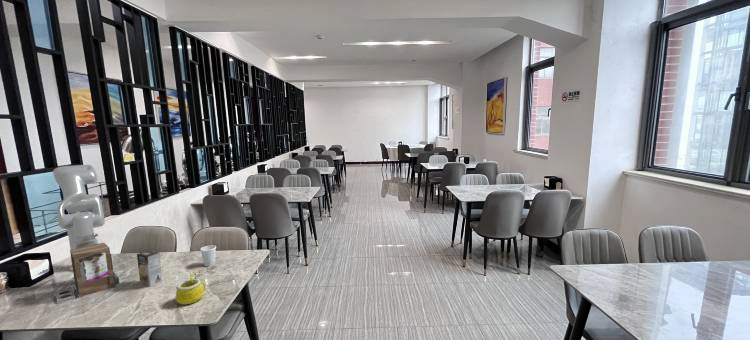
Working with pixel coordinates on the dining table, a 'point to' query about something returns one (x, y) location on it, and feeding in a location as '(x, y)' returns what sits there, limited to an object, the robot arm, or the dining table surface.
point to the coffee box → (149, 267)
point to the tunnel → (94, 284)
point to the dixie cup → (208, 255)
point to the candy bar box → (93, 267)
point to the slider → (116, 278)
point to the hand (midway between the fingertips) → (89, 271)
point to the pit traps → (64, 296)
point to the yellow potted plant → (190, 290)
